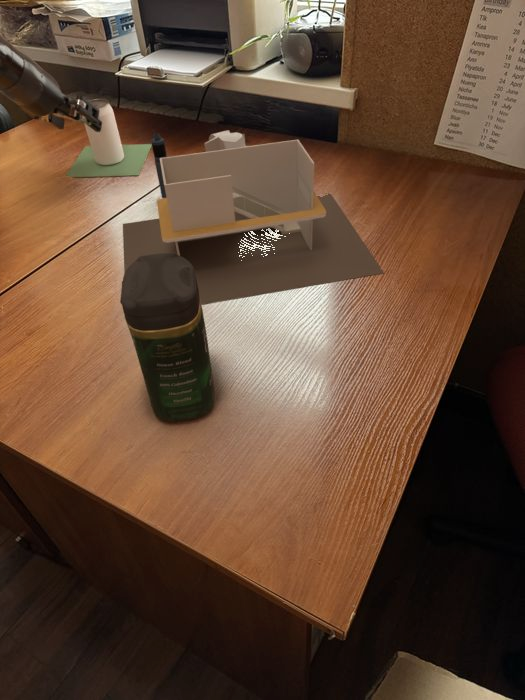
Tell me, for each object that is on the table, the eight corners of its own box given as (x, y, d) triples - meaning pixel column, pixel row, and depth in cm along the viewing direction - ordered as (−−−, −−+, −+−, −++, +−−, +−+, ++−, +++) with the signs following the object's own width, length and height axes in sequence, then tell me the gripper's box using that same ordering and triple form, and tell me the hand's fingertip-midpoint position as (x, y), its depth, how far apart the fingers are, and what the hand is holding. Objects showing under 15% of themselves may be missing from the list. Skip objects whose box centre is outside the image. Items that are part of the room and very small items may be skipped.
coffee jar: (219, 419, 60) (198, 297, 47) (152, 429, 59) (112, 308, 46) (212, 362, 66) (192, 241, 53) (152, 370, 66) (117, 250, 53)
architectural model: (170, 280, 80) (152, 193, 69) (164, 238, 89) (147, 155, 78) (326, 255, 83) (330, 167, 72) (304, 216, 92) (306, 133, 81)
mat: (64, 178, 108) (64, 177, 107) (85, 146, 119) (85, 146, 119) (138, 175, 107) (138, 175, 107) (152, 144, 118) (152, 143, 118)
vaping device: (167, 191, 101) (156, 130, 93) (187, 198, 99) (177, 136, 90) (158, 196, 100) (146, 135, 91) (178, 203, 97) (167, 141, 89)
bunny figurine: (234, 123, 114) (264, 137, 104) (237, 146, 118) (266, 162, 107) (195, 132, 112) (222, 148, 101) (200, 156, 115) (225, 173, 104)
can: (129, 160, 112) (115, 103, 103) (101, 169, 109) (85, 111, 101) (118, 151, 116) (104, 95, 107) (91, 159, 113) (74, 103, 105)
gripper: (64, 62, 84) (115, 109, 99) (-7, 59, 87) (53, 105, 103) (57, 107, 84) (109, 147, 99) (-14, 102, 87) (47, 142, 103)
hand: (80, 126), depth 101 cm, fingers open, 8 cm apart
